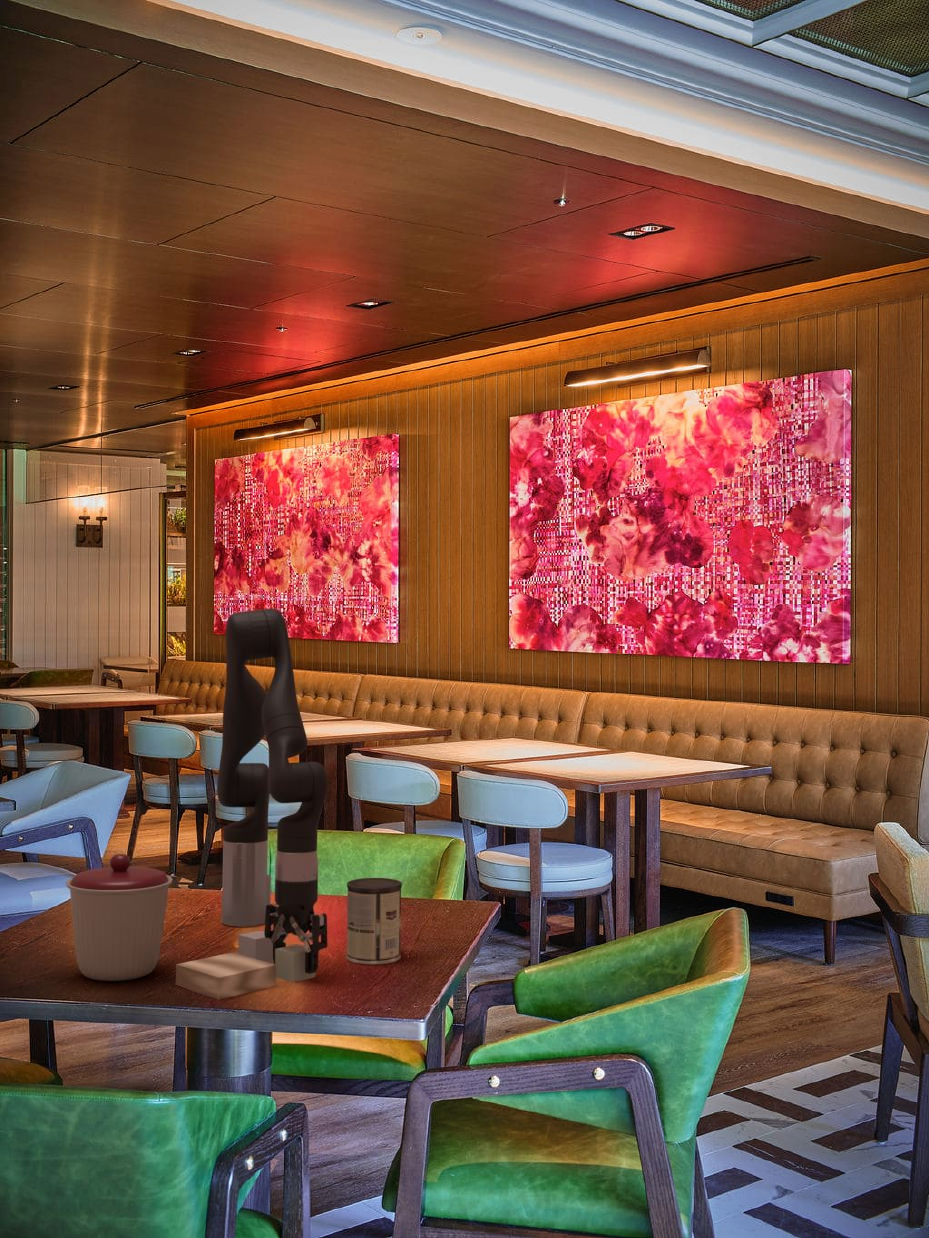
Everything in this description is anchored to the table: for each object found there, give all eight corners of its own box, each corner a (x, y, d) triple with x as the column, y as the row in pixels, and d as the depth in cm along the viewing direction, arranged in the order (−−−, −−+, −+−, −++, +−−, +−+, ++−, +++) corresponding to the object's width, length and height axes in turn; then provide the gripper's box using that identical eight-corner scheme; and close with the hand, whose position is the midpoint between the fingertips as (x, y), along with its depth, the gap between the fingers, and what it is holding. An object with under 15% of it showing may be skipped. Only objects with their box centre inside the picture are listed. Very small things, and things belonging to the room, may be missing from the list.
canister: (84, 960, 230) (86, 844, 231) (182, 962, 230) (184, 846, 230) (48, 987, 212) (51, 862, 213) (154, 989, 212) (157, 864, 212)
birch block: (232, 974, 223) (232, 952, 224) (275, 988, 215) (276, 964, 215) (175, 987, 215) (176, 964, 215) (218, 1002, 207) (219, 977, 207)
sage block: (296, 972, 225) (297, 944, 225) (315, 977, 221) (315, 948, 221) (274, 977, 221) (275, 948, 221) (293, 982, 218) (293, 953, 218)
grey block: (259, 957, 235) (260, 930, 235) (276, 961, 232) (277, 934, 232) (238, 961, 231) (238, 934, 231) (255, 966, 228) (255, 939, 228)
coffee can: (359, 949, 242) (360, 875, 242) (408, 954, 238) (410, 879, 239) (336, 961, 232) (337, 885, 232) (388, 967, 229) (389, 889, 229)
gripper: (339, 878, 219) (338, 972, 219) (287, 868, 229) (285, 957, 229) (306, 884, 214) (305, 980, 214) (254, 873, 223) (252, 964, 223)
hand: (294, 968), depth 221 cm, fingers open, 8 cm apart
